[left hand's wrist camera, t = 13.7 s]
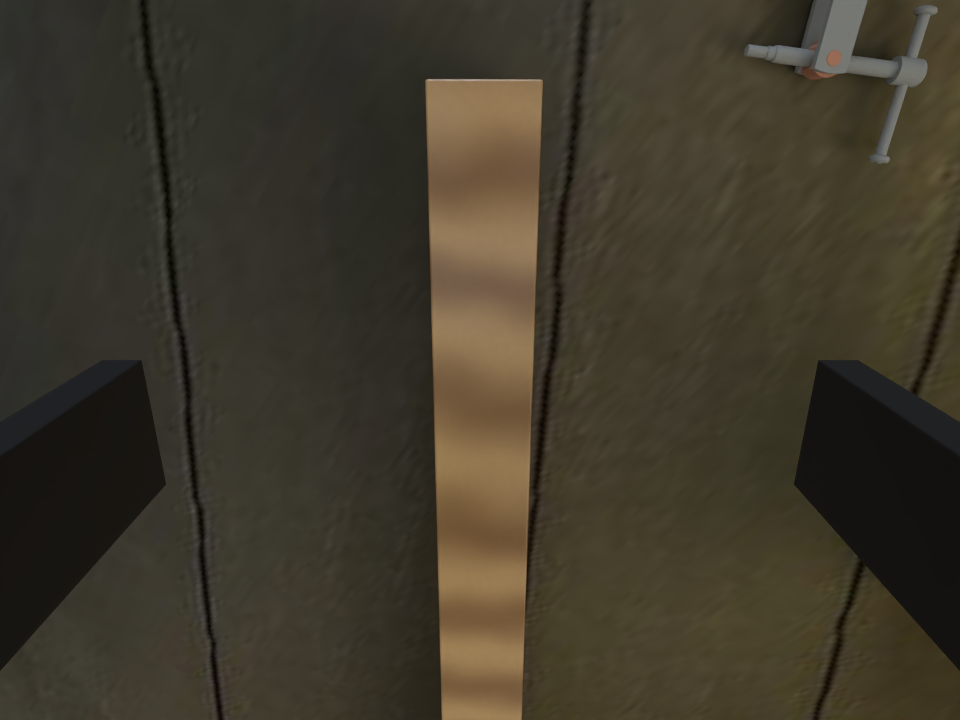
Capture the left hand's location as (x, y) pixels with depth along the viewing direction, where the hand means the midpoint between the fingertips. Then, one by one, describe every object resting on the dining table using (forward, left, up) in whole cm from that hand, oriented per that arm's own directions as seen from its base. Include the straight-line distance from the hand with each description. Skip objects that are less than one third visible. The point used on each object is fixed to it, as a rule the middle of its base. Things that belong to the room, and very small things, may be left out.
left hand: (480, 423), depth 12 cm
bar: (+2, +18, -24) cm, 30 cm away
